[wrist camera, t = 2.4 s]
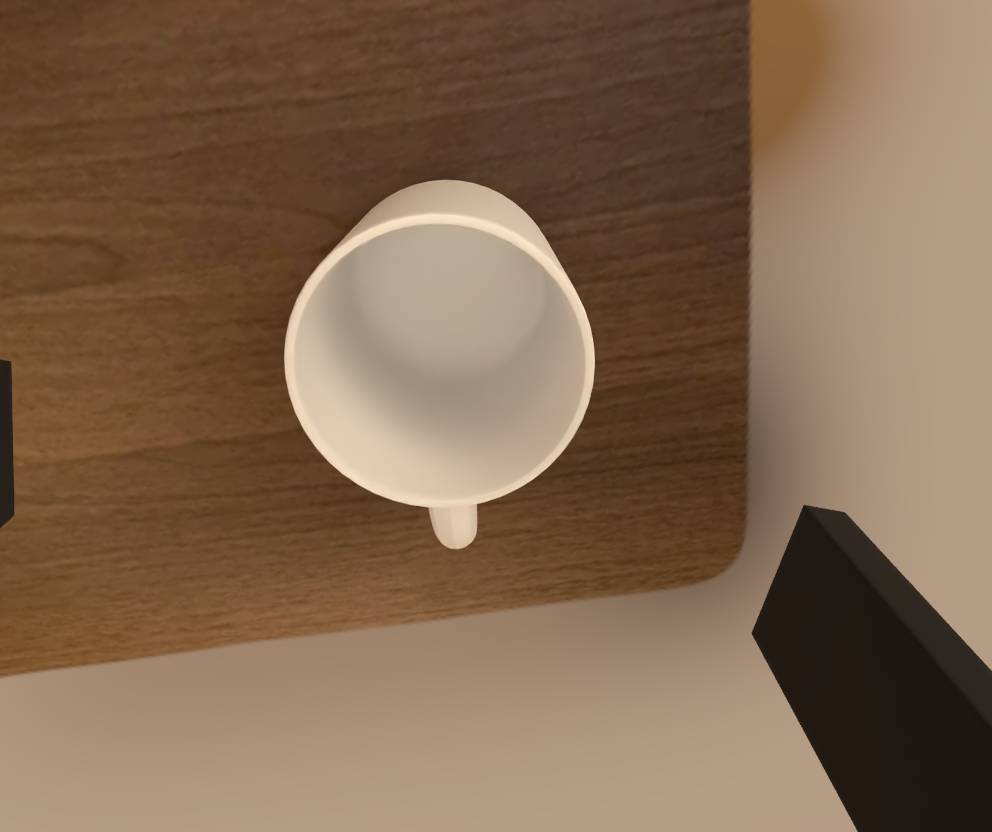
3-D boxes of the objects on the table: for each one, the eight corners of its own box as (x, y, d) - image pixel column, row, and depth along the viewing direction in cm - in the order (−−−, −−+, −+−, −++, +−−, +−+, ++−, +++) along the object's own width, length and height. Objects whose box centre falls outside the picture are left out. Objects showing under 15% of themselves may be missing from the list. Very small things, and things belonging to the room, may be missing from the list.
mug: (554, 465, 33) (588, 611, 23) (361, 471, 33) (316, 622, 23) (556, 173, 28) (600, 208, 19) (332, 179, 28) (262, 217, 19)
